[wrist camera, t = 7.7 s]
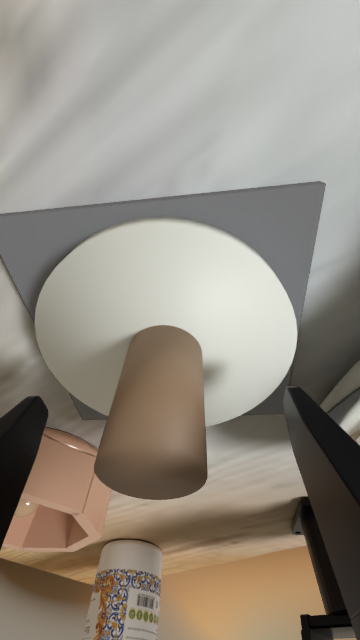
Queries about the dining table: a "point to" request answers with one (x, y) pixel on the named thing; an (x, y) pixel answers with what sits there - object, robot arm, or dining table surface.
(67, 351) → the lid
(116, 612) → the bath foam
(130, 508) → the dining table surface
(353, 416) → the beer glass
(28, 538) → the bowl
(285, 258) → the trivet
